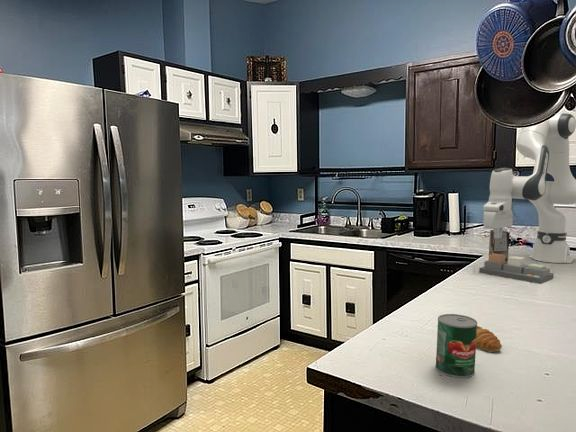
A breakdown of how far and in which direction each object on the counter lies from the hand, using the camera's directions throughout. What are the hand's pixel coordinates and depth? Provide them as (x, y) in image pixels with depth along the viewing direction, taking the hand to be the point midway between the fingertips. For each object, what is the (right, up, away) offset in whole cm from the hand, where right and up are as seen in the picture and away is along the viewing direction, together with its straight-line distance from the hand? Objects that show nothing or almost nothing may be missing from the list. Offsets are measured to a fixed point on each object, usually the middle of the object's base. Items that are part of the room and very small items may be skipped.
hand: (497, 238), depth 184 cm
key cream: (+5, -11, -5) cm, 13 cm away
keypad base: (+5, -15, -4) cm, 17 cm away
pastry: (-42, -23, -78) cm, 91 cm away
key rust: (0, -11, +1) cm, 11 cm away
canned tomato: (-54, -24, -92) cm, 109 cm away
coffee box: (+8, -14, +16) cm, 22 cm away
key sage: (+10, -14, -11) cm, 20 cm away
